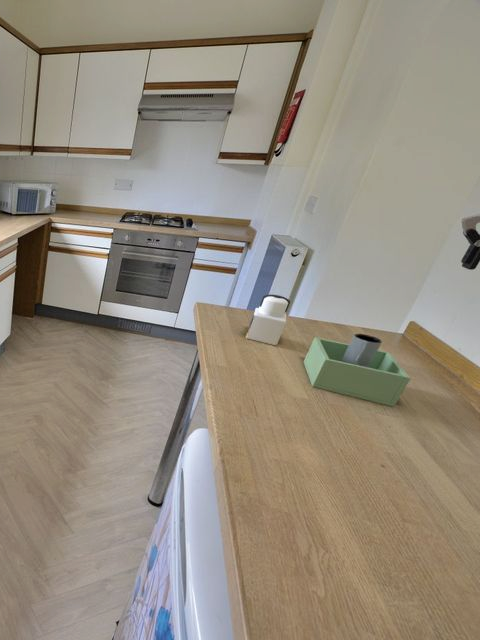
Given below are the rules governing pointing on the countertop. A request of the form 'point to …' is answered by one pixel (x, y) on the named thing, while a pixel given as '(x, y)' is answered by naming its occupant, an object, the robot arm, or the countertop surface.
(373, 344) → the grey cylinder
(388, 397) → the basket
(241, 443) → the countertop surface
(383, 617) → the countertop surface
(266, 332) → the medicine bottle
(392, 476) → the countertop surface
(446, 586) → the countertop surface
